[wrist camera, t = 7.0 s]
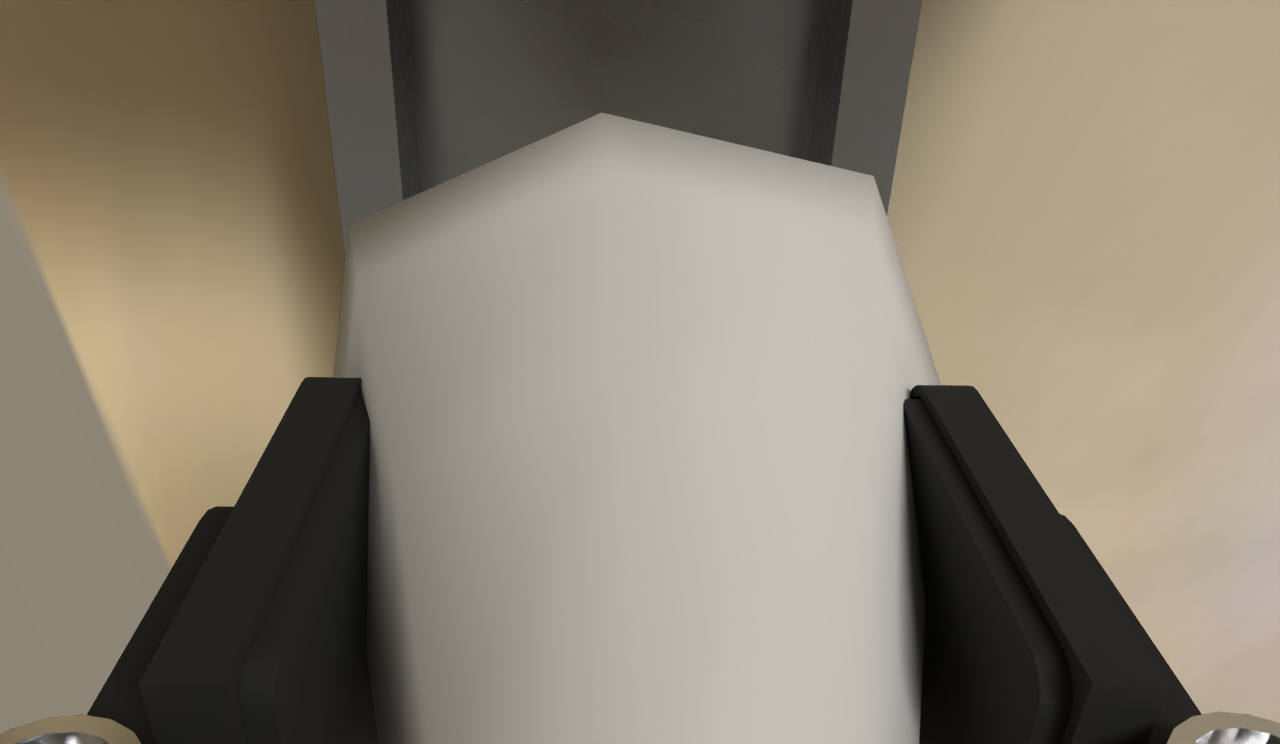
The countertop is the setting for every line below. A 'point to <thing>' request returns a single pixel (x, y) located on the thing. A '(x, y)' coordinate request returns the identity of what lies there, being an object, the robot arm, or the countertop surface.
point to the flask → (639, 449)
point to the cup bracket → (604, 81)
